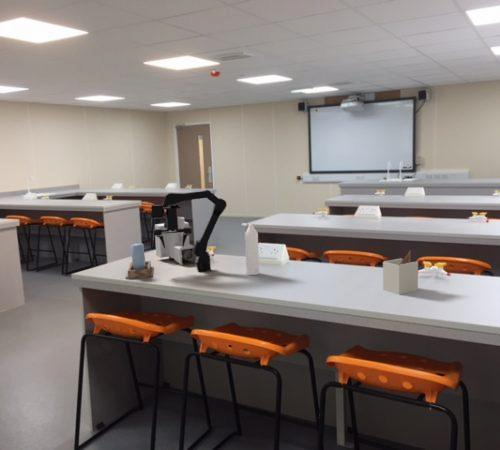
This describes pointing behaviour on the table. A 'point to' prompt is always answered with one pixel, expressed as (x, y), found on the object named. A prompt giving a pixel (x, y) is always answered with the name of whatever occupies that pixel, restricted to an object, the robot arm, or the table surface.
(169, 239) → the electronic device
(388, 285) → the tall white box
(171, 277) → the table surface
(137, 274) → the wooden divided tray
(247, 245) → the water bottle
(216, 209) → the robot arm
